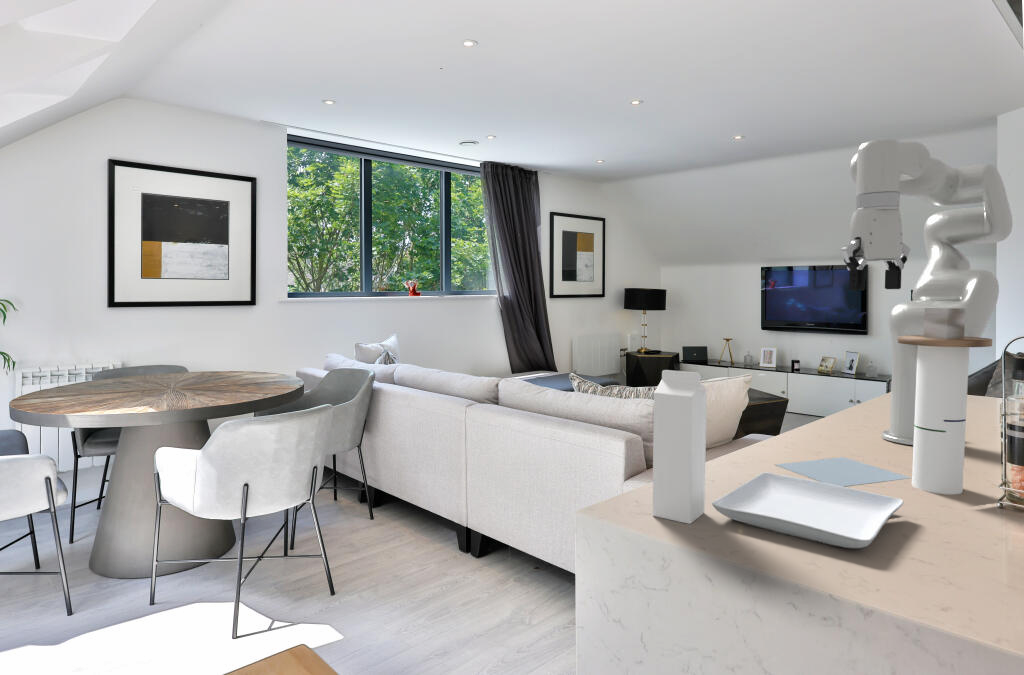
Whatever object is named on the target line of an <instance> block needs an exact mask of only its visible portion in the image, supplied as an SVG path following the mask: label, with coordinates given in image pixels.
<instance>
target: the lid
mask: <svg viewBox="0 0 1024 675" xmlns="http://www.w3.org/2000/svg"><path fill="white" fill-rule="evenodd" d="M964 330H965V308H925V312H924V335H907V336H898V343H901V344H908V345H920V346H938V347H969V348H988V347H989V348H990V347H992V346H993V339H992V338H986V337H965V336H964Z"/></svg>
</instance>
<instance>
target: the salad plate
mask: <svg viewBox="0 0 1024 675" xmlns="http://www.w3.org/2000/svg"><path fill="white" fill-rule="evenodd" d="M711 505H712V506H713V508H714V509H715V510H716V512H719V513H720V514H721V515H723V516H724V517H727V518H729V519H731V520H734V521H737V522H739V523H740V522H741V523H744V524H746V525H749V526H753V527H757V528H761V529H765V530H768V531H773V532H778V533H781V534H785V535H788V534H789V536H793V537H798V538H801V539H805V540H810V541H814V542H817V541H818V543H821V542H822V544H827V545H830V546H835V547H840V548H845V549H846V548H847V549H862V548H866V547H868V546H869V545H870V544H871V543H872V542H873V541H874V540H875V538H877V536H878V535H879V533H880V531H881V530H882V528H883V527H884V525H885V524H886V522H887V521H888V519H890V517H892V516H893V515H894V514H895V513H896V512H898V510H899V509H900V508H901V507H902V506H903V505H904V500H903V499H901V498H898V497H894V496H889V495H884V494H879V493H875V492H871V491H870V492H869V491H865V490H861V489H856V488H851V487H848V486H846V487H843V486H838V485H833V484H828V483H823V482H820V481H817V480H813V479H806V478H800V477H795V476H789V475H784V474H778V473H775V472H774V473H772V472H768V471H764V472H761V473H759V474H758V475H756V476H755V477H753V478H751V479H749V480H748V481H746V482H745V483H743V484H741V485H740V486H738V487H736V488H735V489H733V490H731V491H730V492H727V493H726V494H725V495H722V496H721V497H719V498H717V499H716V500H714V501H713V502H712V504H711Z"/></svg>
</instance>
